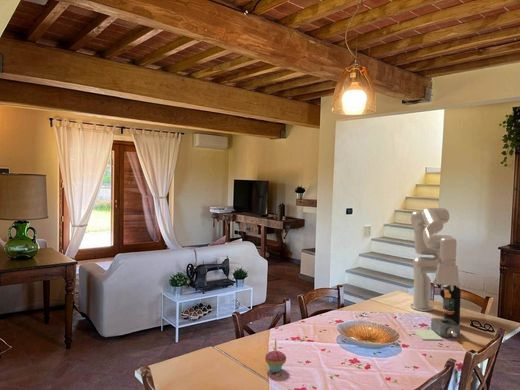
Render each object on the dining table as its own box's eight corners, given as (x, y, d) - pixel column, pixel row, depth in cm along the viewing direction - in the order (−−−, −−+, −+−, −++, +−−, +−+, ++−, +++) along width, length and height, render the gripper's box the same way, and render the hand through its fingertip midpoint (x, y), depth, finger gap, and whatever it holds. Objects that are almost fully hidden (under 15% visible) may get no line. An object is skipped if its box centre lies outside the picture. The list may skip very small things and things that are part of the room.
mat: (412, 330, 199) (412, 329, 199) (431, 330, 199) (431, 329, 199) (422, 340, 187) (422, 338, 187) (442, 340, 187) (443, 339, 187)
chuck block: (431, 329, 201) (431, 318, 201) (449, 329, 201) (450, 318, 201) (444, 341, 186) (445, 328, 186) (465, 341, 186) (465, 329, 186)
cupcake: (264, 364, 158) (264, 335, 158) (284, 364, 159) (284, 335, 159) (266, 374, 150) (266, 344, 150) (287, 374, 151) (288, 344, 150)
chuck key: (444, 310, 193) (444, 293, 193) (441, 306, 200) (441, 289, 200) (450, 311, 193) (450, 294, 192) (447, 306, 199) (447, 289, 199)
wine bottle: (461, 327, 205) (463, 271, 204) (446, 326, 206) (448, 271, 205) (457, 322, 212) (458, 268, 211) (442, 321, 214) (444, 268, 213)
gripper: (431, 262, 194) (430, 298, 194) (467, 264, 189) (465, 301, 190) (429, 259, 201) (427, 293, 202) (463, 261, 197) (461, 296, 198)
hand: (446, 297), depth 196 cm, fingers closed on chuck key, 2 cm apart
